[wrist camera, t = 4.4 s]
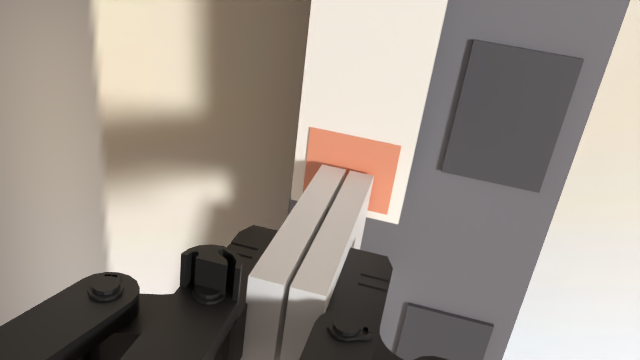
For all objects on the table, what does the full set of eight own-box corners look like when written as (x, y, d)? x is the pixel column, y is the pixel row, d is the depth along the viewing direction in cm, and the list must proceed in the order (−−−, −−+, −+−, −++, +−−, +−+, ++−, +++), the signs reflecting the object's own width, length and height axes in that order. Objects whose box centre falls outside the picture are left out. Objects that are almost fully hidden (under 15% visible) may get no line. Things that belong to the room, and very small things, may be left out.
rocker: (326, -30, 16) (313, -23, 15) (450, -9, 16) (447, 0, 14) (302, 178, 20) (289, 200, 18) (403, 201, 19) (397, 225, 18)
